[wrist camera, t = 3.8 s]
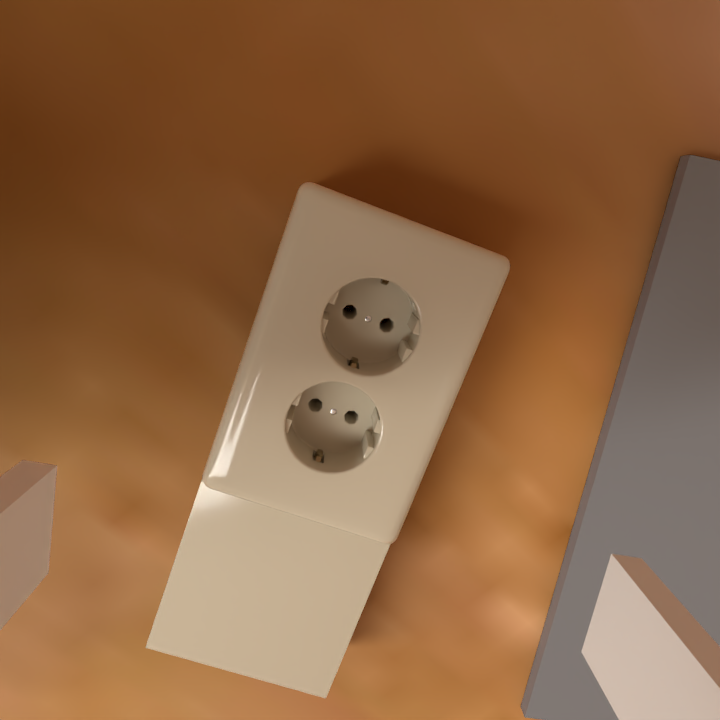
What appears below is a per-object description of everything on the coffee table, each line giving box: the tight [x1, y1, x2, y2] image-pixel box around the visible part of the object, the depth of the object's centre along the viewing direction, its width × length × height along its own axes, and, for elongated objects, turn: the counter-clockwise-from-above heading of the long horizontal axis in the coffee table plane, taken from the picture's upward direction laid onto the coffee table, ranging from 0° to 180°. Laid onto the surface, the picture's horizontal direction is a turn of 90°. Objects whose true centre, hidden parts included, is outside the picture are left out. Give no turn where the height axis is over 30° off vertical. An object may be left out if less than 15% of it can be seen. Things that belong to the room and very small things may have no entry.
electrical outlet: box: [146, 182, 510, 698], centre depth 22 cm, size 7×4×18 cm
